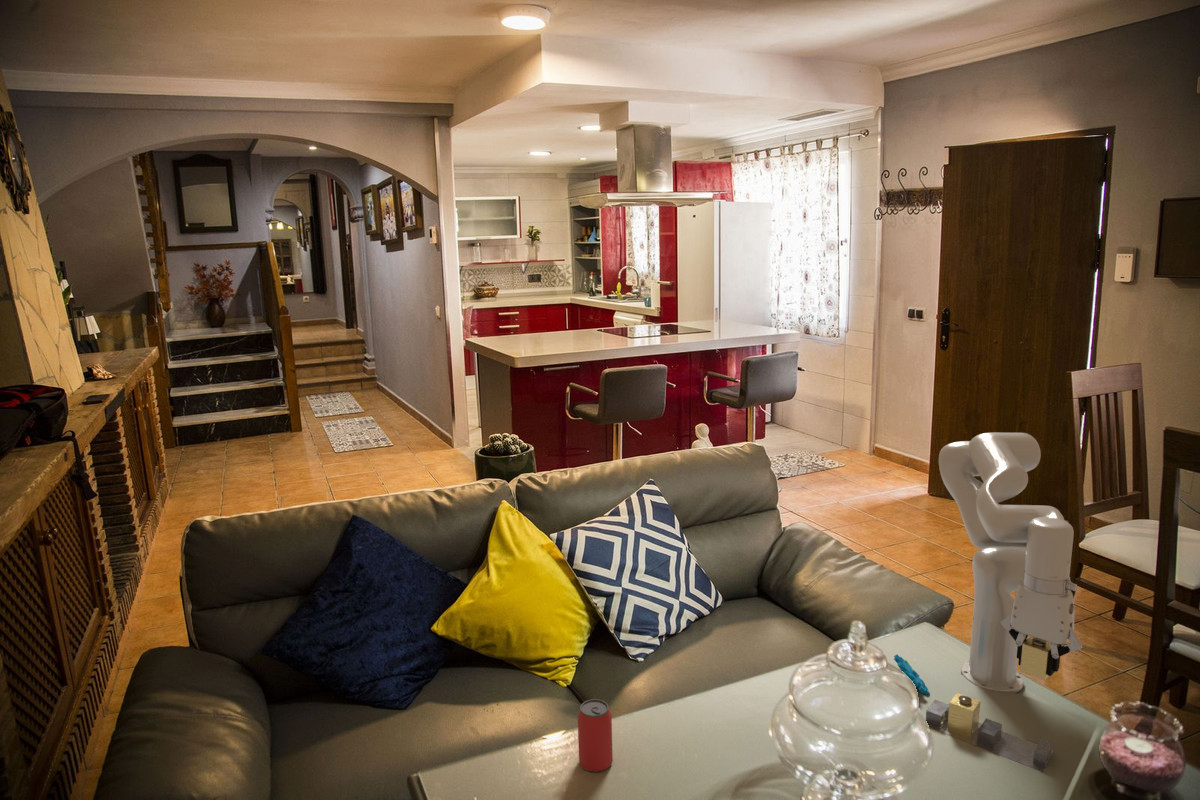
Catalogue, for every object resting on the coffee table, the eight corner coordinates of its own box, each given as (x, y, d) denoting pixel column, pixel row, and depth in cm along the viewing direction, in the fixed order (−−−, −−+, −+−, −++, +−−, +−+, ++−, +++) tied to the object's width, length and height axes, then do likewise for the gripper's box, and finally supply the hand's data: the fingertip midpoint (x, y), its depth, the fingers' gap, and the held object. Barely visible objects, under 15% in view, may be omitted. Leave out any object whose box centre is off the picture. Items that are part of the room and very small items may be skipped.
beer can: (588, 778, 148) (586, 721, 145) (573, 758, 154) (571, 703, 151) (618, 766, 151) (617, 711, 148) (603, 747, 157) (601, 693, 154)
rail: (936, 711, 166) (937, 696, 165) (1053, 755, 151) (1055, 739, 150) (922, 729, 160) (923, 713, 159) (1042, 776, 145) (1044, 760, 144)
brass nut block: (1028, 662, 157) (1031, 632, 156) (1052, 671, 154) (1056, 640, 152) (1019, 671, 154) (1022, 640, 153) (1044, 680, 151) (1048, 649, 149)
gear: (936, 699, 167) (902, 663, 168) (914, 715, 168) (881, 680, 169) (926, 677, 178) (894, 644, 179) (906, 693, 179) (874, 660, 180)
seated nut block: (955, 718, 161) (957, 689, 160) (978, 727, 158) (980, 698, 157) (947, 729, 158) (949, 699, 157) (970, 738, 155) (973, 708, 154)
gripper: (1101, 589, 146) (1091, 677, 150) (1006, 563, 158) (999, 645, 162) (1089, 602, 141) (1078, 693, 145) (991, 574, 154) (984, 659, 157)
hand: (1036, 667), depth 154 cm, fingers closed on brass nut block, 4 cm apart
